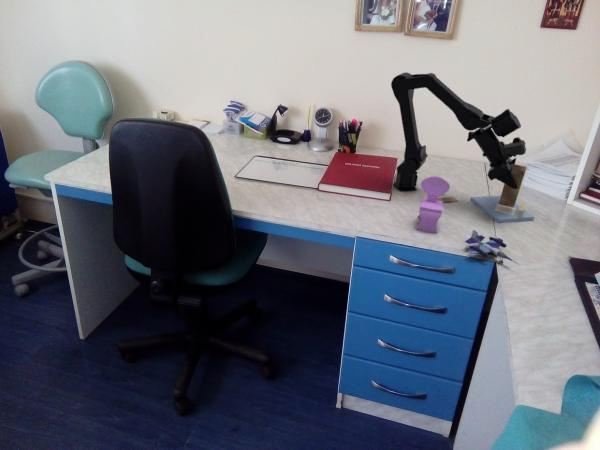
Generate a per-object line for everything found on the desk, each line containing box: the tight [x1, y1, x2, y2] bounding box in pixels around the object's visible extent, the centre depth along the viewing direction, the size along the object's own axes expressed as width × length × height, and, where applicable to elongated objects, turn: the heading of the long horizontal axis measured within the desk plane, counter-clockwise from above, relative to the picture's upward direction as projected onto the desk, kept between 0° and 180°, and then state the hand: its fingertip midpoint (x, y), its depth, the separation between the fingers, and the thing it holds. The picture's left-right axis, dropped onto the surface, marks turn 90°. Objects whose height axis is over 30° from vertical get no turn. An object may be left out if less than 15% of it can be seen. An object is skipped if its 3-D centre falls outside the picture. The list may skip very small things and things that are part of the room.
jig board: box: [470, 195, 535, 224], centre depth 154 cm, size 13×16×4 cm
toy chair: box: [415, 175, 451, 234], centre depth 139 cm, size 8×9×15 cm
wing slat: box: [437, 196, 459, 204], centre depth 159 cm, size 9×3×1 cm, turn 107°
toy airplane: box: [464, 229, 521, 265], centre depth 128 cm, size 13×14×4 cm
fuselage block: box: [499, 163, 527, 208], centre depth 148 cm, size 5×5×12 cm
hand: (517, 185), depth 148 cm, fingers closed on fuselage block, 5 cm apart
